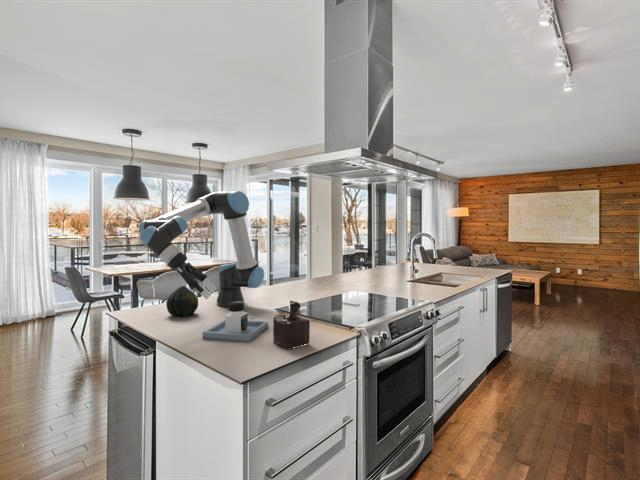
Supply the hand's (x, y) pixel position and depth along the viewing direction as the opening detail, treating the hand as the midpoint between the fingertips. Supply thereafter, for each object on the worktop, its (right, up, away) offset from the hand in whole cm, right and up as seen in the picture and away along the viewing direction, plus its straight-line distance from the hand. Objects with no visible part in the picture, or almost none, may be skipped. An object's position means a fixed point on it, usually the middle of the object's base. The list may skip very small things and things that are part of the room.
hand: (212, 293), depth 151 cm
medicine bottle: (+10, -16, +2) cm, 19 cm away
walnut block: (+27, -16, +11) cm, 34 cm away
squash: (-24, -16, +32) cm, 43 cm away
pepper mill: (+35, -18, -14) cm, 42 cm away
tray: (+10, -17, +2) cm, 19 cm away
